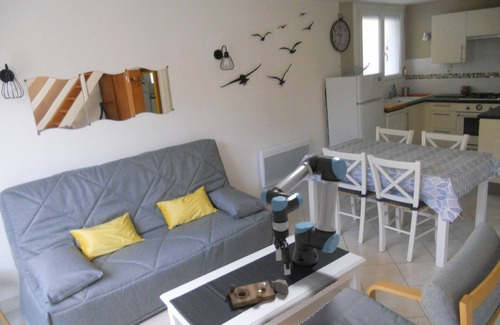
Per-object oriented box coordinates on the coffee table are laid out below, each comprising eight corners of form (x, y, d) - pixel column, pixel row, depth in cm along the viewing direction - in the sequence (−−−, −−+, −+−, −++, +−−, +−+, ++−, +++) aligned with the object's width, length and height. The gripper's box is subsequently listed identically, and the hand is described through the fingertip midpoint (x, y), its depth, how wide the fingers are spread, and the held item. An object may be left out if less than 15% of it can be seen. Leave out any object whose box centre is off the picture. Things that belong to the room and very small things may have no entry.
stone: (293, 289, 202) (293, 280, 200) (283, 297, 197) (282, 287, 195) (280, 282, 209) (279, 273, 207) (269, 289, 204) (269, 280, 202)
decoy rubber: (235, 287, 204) (234, 281, 203) (236, 291, 200) (235, 285, 199) (228, 289, 203) (228, 283, 202) (230, 292, 199) (229, 287, 198)
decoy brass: (261, 293, 197) (261, 287, 196) (263, 297, 193) (263, 291, 192) (255, 295, 196) (254, 289, 195) (257, 299, 193) (256, 293, 192)
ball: (266, 286, 202) (265, 280, 201) (268, 290, 199) (267, 284, 198) (259, 287, 202) (259, 282, 201) (261, 291, 198) (261, 285, 197)
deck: (267, 284, 208) (267, 280, 207) (275, 298, 196) (275, 294, 195) (228, 293, 203) (228, 289, 202) (233, 308, 191) (233, 303, 190)
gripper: (266, 219, 194) (268, 256, 200) (281, 241, 171) (283, 282, 177) (280, 216, 196) (282, 253, 202) (297, 238, 172) (299, 279, 178)
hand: (283, 267), depth 189 cm, fingers open, 13 cm apart
